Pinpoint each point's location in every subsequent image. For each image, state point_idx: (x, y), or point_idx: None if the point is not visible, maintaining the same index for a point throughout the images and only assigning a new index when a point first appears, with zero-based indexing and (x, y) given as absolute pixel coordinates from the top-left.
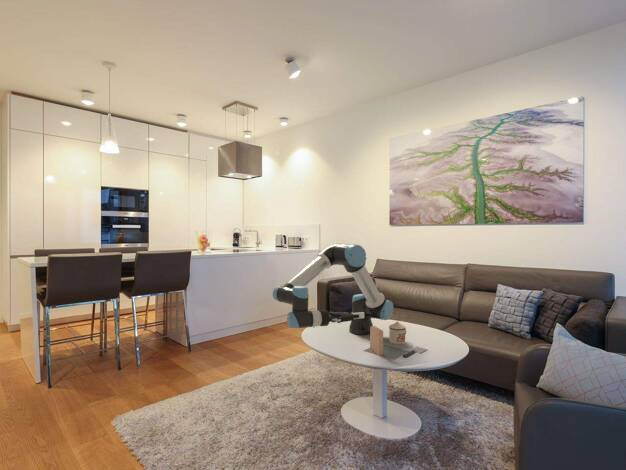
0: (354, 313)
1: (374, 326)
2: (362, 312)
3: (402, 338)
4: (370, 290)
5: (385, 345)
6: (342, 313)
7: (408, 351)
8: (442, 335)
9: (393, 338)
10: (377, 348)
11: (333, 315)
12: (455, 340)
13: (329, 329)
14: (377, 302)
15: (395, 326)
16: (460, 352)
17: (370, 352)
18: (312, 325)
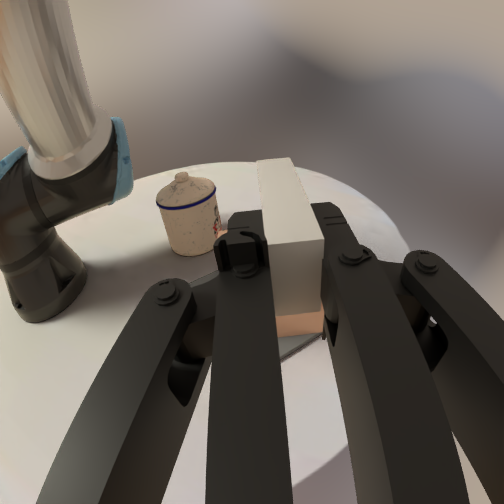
0: (311, 217)
1: (226, 232)
2: (267, 163)
3: (219, 216)
4: (72, 69)
5: (216, 275)
6: (223, 423)
7: None
8: (200, 169)
9: (203, 234)
10: (314, 314)
11: None
12: (239, 163)
13: None
14: (95, 132)
15: (192, 190)
16: (313, 173)
17: (279, 352)
18: None
